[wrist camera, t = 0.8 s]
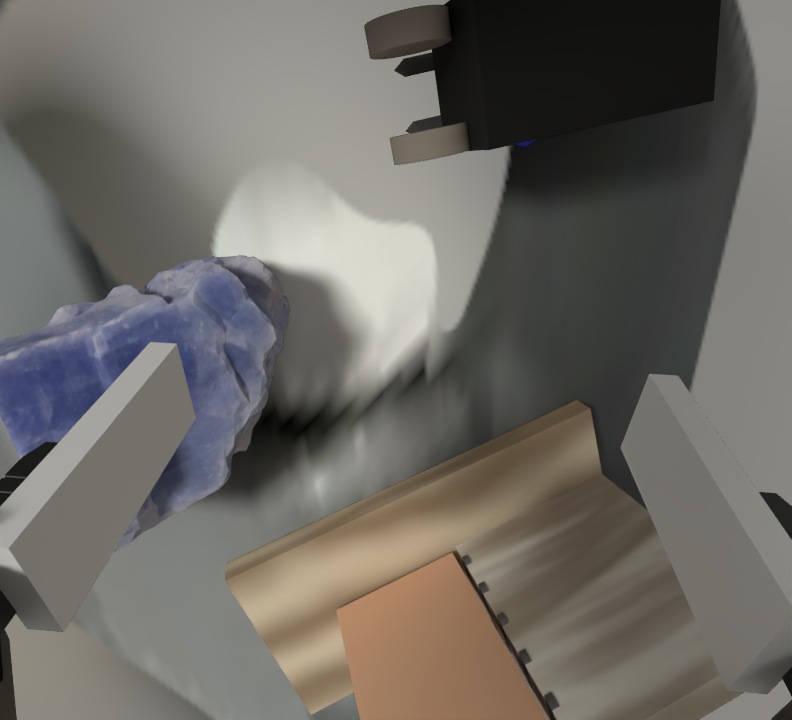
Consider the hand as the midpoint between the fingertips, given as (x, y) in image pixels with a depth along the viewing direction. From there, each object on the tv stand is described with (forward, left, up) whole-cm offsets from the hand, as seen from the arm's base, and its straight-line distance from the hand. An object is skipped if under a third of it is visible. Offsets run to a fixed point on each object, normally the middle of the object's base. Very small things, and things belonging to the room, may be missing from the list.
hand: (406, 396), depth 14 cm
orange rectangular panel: (+21, -3, -13) cm, 25 cm away
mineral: (0, -9, -15) cm, 18 cm away
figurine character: (-7, +13, -15) cm, 21 cm away
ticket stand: (+21, +1, -15) cm, 26 cm away
